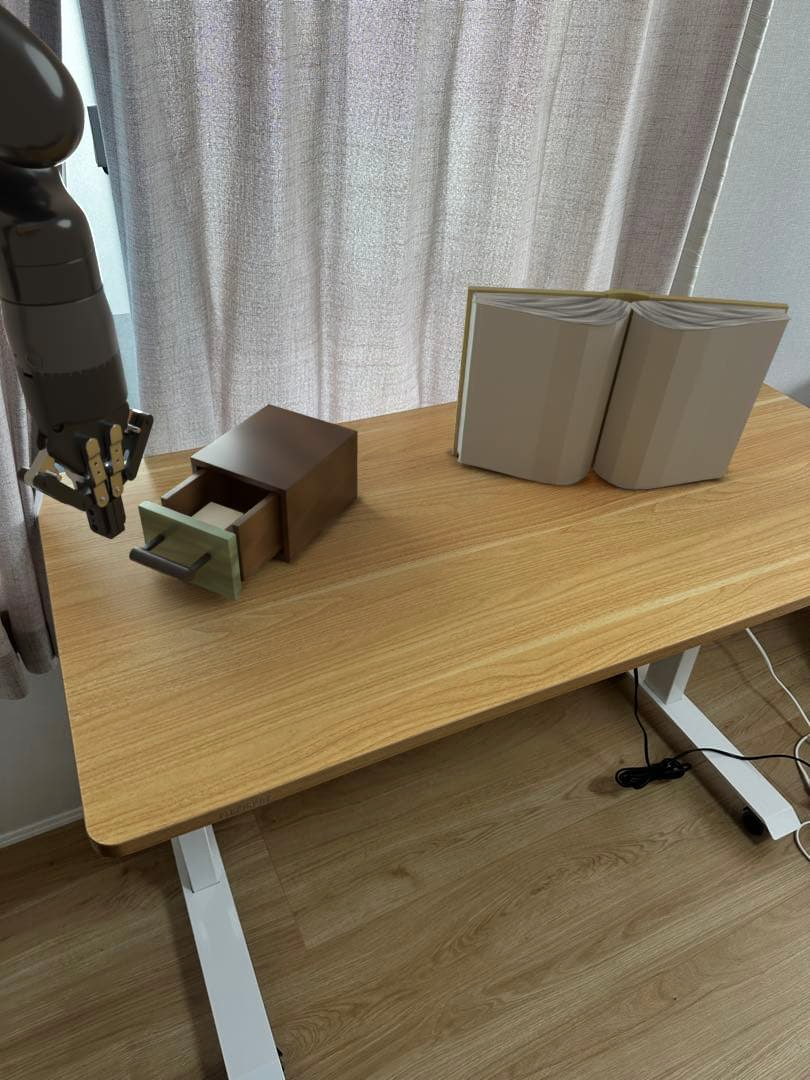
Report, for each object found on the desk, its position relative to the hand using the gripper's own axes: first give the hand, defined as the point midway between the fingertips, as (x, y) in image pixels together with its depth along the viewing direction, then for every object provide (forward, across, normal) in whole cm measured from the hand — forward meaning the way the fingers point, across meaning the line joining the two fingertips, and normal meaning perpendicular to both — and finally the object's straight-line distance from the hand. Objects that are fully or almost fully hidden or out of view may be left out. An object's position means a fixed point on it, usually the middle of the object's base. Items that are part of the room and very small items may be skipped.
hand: (110, 532), depth 71 cm
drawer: (+12, -13, 0) cm, 18 cm away
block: (+11, -13, 0) cm, 17 cm away
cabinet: (+13, -25, 0) cm, 28 cm away
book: (+14, -54, +29) cm, 63 cm away
